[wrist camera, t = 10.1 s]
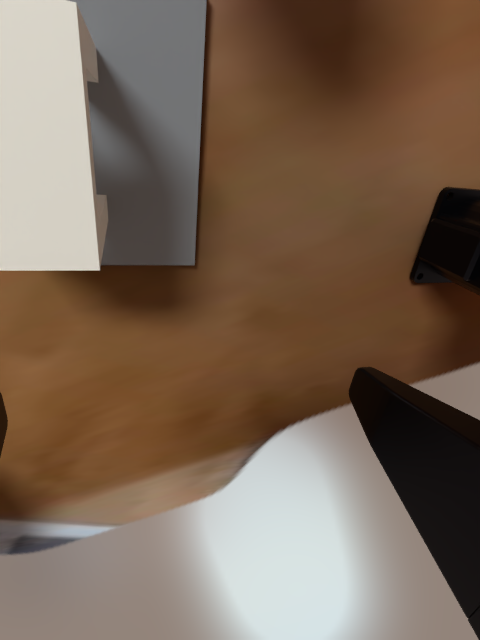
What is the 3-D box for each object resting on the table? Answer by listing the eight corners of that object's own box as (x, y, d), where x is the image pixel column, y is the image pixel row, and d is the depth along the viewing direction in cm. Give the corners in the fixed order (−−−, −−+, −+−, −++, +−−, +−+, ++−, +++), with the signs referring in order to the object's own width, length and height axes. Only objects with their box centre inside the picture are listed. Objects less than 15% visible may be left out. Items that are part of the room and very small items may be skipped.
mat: (204, -7, 15) (207, -11, 15) (193, 262, 21) (194, 265, 20) (-240, -109, 11) (-254, -117, 11) (-102, 260, 17) (-108, 264, 16)
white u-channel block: (96, 47, 14) (76, 2, 9) (108, 219, 18) (100, 270, 12) (-49, 23, 13) (-191, -52, 7) (-7, 215, 16) (-80, 270, 11)
